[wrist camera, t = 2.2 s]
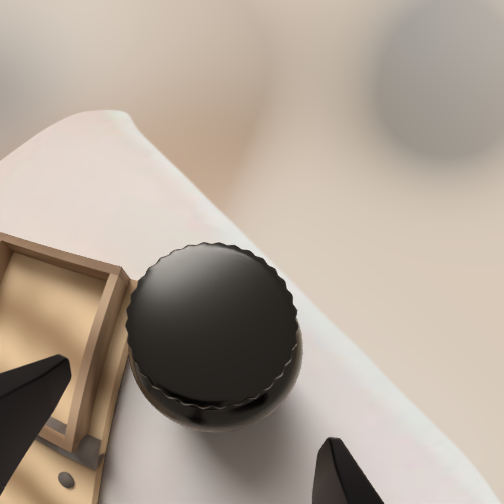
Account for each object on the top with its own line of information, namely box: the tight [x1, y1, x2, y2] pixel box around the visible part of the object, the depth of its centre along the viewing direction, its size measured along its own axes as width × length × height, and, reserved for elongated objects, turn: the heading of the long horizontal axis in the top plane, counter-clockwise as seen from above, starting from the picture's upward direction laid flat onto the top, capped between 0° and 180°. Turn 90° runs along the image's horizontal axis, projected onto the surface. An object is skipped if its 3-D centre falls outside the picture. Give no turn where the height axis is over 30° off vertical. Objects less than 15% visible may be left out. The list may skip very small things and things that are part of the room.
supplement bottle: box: [125, 242, 303, 432], centre depth 13 cm, size 7×7×12 cm
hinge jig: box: [0, 232, 138, 504], centre depth 14 cm, size 24×14×3 cm, turn 169°
